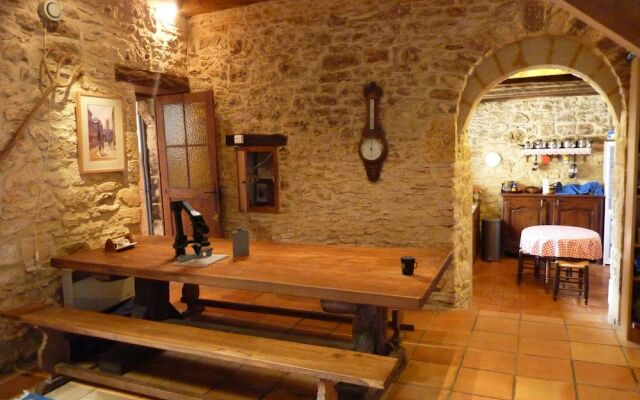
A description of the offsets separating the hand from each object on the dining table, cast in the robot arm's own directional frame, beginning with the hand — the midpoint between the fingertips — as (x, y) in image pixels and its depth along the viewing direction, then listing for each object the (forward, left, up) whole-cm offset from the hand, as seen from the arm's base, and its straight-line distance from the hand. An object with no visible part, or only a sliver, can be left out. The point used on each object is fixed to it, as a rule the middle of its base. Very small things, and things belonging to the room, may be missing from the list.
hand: (198, 255), depth 328 cm
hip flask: (+20, +23, -4) cm, 31 cm away
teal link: (-5, -1, -2) cm, 6 cm away
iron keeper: (-1, +9, -2) cm, 10 cm away
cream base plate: (+2, +1, -4) cm, 4 cm away
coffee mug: (+141, -2, -4) cm, 141 cm away
